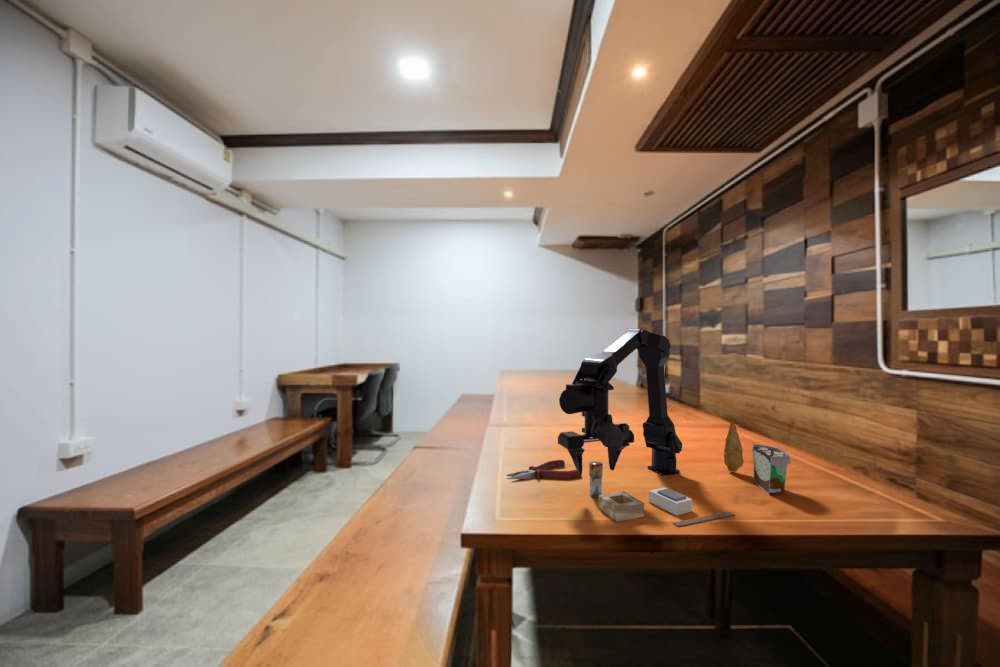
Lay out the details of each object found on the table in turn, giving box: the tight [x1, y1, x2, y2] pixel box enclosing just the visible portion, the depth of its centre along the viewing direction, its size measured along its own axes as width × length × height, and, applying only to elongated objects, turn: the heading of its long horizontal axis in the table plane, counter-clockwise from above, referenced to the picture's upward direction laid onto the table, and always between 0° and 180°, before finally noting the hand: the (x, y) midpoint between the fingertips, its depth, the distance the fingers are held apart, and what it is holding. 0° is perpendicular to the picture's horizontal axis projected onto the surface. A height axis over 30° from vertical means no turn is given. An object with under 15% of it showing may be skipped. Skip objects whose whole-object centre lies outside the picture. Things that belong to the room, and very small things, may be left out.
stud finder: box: [648, 486, 693, 516], centre depth 96 cm, size 8×5×4 cm, turn 27°
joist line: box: [672, 511, 736, 528], centre depth 90 cm, size 2×16×1 cm, turn 111°
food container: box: [751, 443, 791, 496], centre depth 107 cm, size 12×6×10 cm, turn 168°
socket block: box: [598, 491, 645, 522], centre depth 93 cm, size 7×7×3 cm
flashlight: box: [588, 460, 604, 499], centre depth 102 cm, size 3×3×8 cm
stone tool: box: [723, 419, 744, 473], centre depth 119 cm, size 5×2×15 cm, turn 97°
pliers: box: [506, 459, 582, 480], centre depth 116 cm, size 12×20×3 cm, turn 111°
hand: (596, 472), depth 102 cm, fingers open, 9 cm apart
